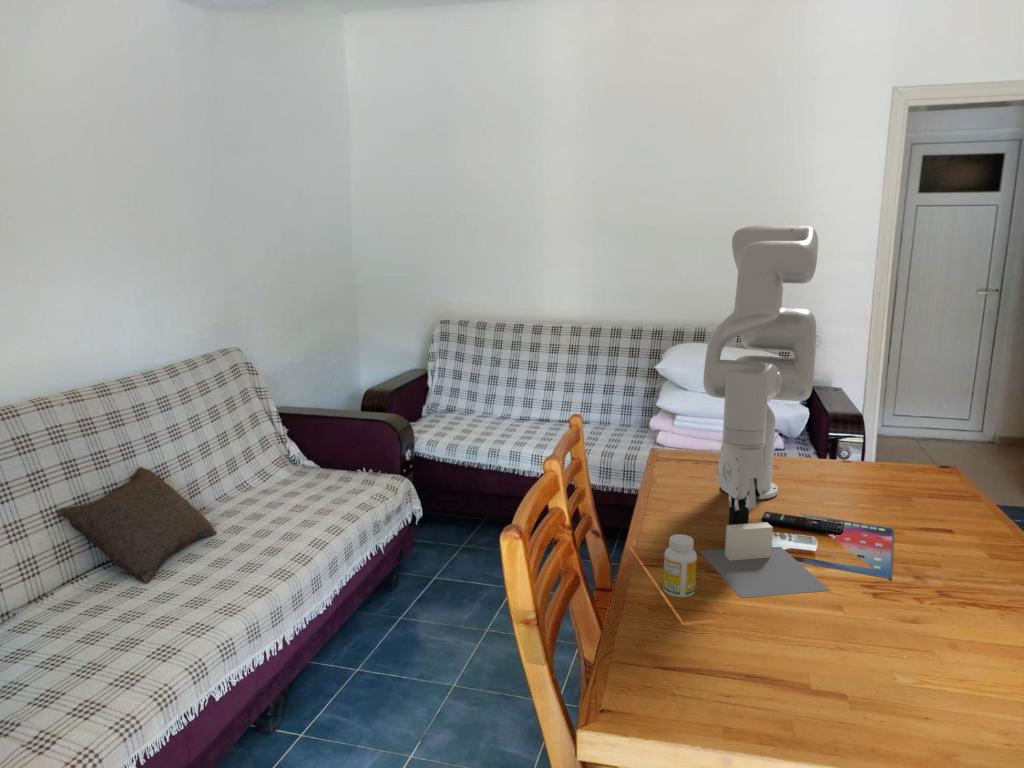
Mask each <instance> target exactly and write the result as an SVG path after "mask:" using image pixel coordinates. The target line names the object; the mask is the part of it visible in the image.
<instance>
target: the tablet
mask: <svg viewBox="0 0 1024 768" xmlns="http://www.w3.org/2000/svg"><path fill="white" fill-rule="evenodd" d="M800 515H801V516H802V517H804V518H805V517H806V518H805V519H807V518H815V519H821V520H827V521H831V522H838V523H843V524H844V526H845V530H844V532H843V533H842V534H841V535H834V534H827V535H828V536H829V537H831V538H832V539H833V540H835V542H837V543H838V544H840V545H842V546H843V547H844V548H845V549H847V550H848V551H849V552H850V553H852V554H853V555H855V556H856V557H858V558H859V559H860V560H861V561H862V562H864V563H866V565H869V566H870V567H864V566H856V565H851V564H846V563H845V564H844V563H837V562H833V561H832V562H831V561H827V560H822V559H821V560H819V559H814V558H807V557H800V556H793V555H791V556H792V557H793V558H794V559H795V560H796V561H797V562H799V563H800V564H808V565H813V566H818V567H823V568H828V569H833V570H838V571H844V572H849V573H855V574H860V575H865V576H871V577H875V578H879V579H881V578H882V579H886V580H888V581H889V582H890V581H892V579H893V565H894V562H893V561H894V543H895V529H894V528H892V527H887V526H879V525H875V524H867V523H862V522H855V521H850V520H845V519H844V520H842V519H837V518H831V517H825V516H819V515H812V514H807V513H806V514H805V513H800Z"/></svg>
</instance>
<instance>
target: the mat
mask: <svg viewBox="0 0 1024 768" xmlns="http://www.w3.org/2000/svg"><path fill="white" fill-rule="evenodd" d="M724 552H725V548H723V549H709V550H708V549H707V550H699V553H700V554H701V555H702V556H703V557H704V559H705V560H706V561H707V562H708V563H709V564H710V565H711V567H712V568H713V569H714V570H715V571H716V572H717V573H718V574H719V575H720V576H721V578H723V580H724V581H725V582H726V583H727V585H728V586H730V588H731V589H732V590H733V591H734V592H735V593H736V595H737V596H738V597H739V599H746V598H758V597H770V596H782V595H783V596H785V595H792V594H794V595H795V594H806V593H815V592H816V593H818V592H830V591H831V589H830V588H829V587H827V585H825V584H824V583H823V582H822V581H821V580H819V579H818V578H817V577H816V576H814V575H813V573H812V572H810V571H809V570H808V569H806V568H805V567H804V566H803V565H802V563H801V562H797V561H796V560H795V559H794V558H793V557H792V556H793V555H791V554H790V553H788V552H787V551H786V550H785V549H784V548H783V547H782V546H780V547H771V557H769V558H756V559H743V560H729V559H728V558H727V557H726V556H725V555H724Z"/></svg>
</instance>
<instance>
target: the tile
mask: <svg viewBox="0 0 1024 768" xmlns="http://www.w3.org/2000/svg"><path fill="white" fill-rule="evenodd" d="M773 531H774V527H773V526H772V525H771V524H770V523H769V522H767V521H762V522H751V523H750V522H748V523H746V524H732V525H729V524H725V535H724V536H725V537H724V549H725V552H724V555H725V556H726V557H727V558H728V559H729V560H743V559H756V558H769V557H771V547H772V546H773V544H772V543H773Z"/></svg>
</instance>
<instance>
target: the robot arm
mask: <svg viewBox="0 0 1024 768" xmlns="http://www.w3.org/2000/svg"><path fill="white" fill-rule="evenodd" d="M731 239H732V240H731V249H732V255H733V259H734V263H735V266H736V268H737V280H736V292H735V298H734V308H733V309H734V310H733V311H732V312H731V314H729V316H727V317H726V318H725V319H724V320H723V321H722V322H721V323H720V324H719V325H718V326H717V327H716V329H715V330H714V331H713V333H712V335H711V336H710V339H709V340H708V343H707V348H706V352H705V353H706V354H705V360H704V361H705V362H704V369H703V381H702V382H703V383H702V384H703V388H704V391H705V393H706V394H707V395H708V396H710V397H713V398H718V399H724V405H723V425H722V441H721V446H720V452H719V459H718V468H717V478H716V479H717V484H718V486H719V487H720V488H721V490H722V491H723V492H725V493H726V494H728V505H729V508H728V509H729V511H728V512H729V513H728V525H732V524H746V523H749V520H750V519H749V517H750V510H751V509H754V508H756V507H757V504H756V503H757V501H756V500H766V499H771V498H774V497H776V496H777V495H778V493H779V487H778V486H777V484H776V483H774V482H772V480H773V479H772V478H773V465H774V453H775V452H774V451H775V438H776V437H775V436H776V422H777V420H776V416H775V413H774V411H773V410H772V408H771V407H770V405H769V404H768V403H769V402H770V401H772V400H775V401H787V402H788V401H789V402H802V401H806V400H808V399H809V398H810V396H811V394H812V392H813V386H814V377H815V359H816V348H817V347H816V346H817V345H816V344H817V321H816V317H815V315H814V313H813V312H812V311H810V310H809V309H806V308H800V307H799V308H797V307H795V308H794V307H792V308H791V307H783V290H784V286H783V284H799V285H800V284H802V285H803V284H807V283H810V281H812V280H813V277H814V275H815V273H816V268H817V263H818V262H817V261H818V253H819V252H818V250H819V238H818V234H817V231H816V229H815V228H813V227H812V226H808V225H752V226H744V227H742V228H739V229H738V230H735V232H734V233H733V235H732V238H731ZM739 336H740V341H741V344H742V345H743V346H744V347H746V348H747V349H751V350H759V351H760V350H761V351H775V352H779V351H780V352H788V353H791V354H792V355H793V357H783V356H782V357H781V356H771V355H770V356H769V355H768V356H767V355H744V356H741V357H738V358H736V359H735V360H734V359H721V356H722V351H723V349H724V348H725V346H726V345H727V344H728V343H729V342H730V341H732V340H733V339H734V338H735V339H736V337H739Z"/></svg>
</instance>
